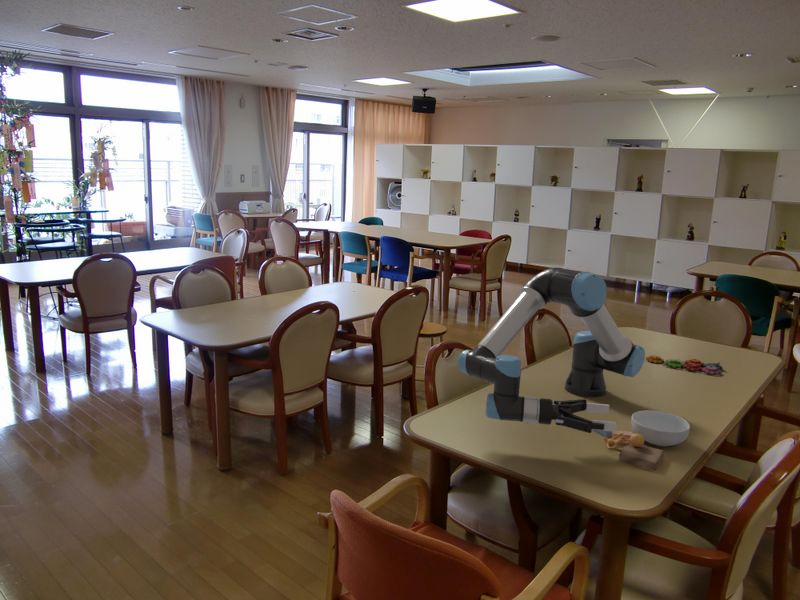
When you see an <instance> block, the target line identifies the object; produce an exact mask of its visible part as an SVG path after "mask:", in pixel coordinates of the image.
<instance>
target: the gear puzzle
mask: <svg viewBox="0 0 800 600" xmlns="http://www.w3.org/2000/svg"><path fill="white" fill-rule="evenodd" d="M645 361H648V362H649V363H654V364H662V366H664V368H666V369H671V368H672V369H675V370H677V371H678V370H679V371H683V372H693V373H695V374H702V375H707V376H708V375H712V376H713V377H718V378H719V377H721V374H722V371H723V366H722V365H721V363H720V362H719V361H716V362H713V363H711V362H707V363H705V362H702V361H701V360H699V359H696V358H689V359H688V360H682V359H679V358H676V359H675V358H668V359H664V358H662V357H661V356H659V355H656V354H652V355H649V356H645Z"/></svg>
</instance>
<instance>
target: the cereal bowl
mask: <svg viewBox="0 0 800 600" xmlns="http://www.w3.org/2000/svg"><path fill="white" fill-rule="evenodd" d="M630 422H631V428H632V431H633V432H634V434H635V433H638V434H641V435H642V436H643V438H644V442H646V443H648V444H650V445H653V446H657V447H670V446H676V445H679V444H681V443H683V442H685V440H686V439H687V438H688V436H689V433H690V430H691V425H690V423H689V422H688V421H687V420H685V419H684V418H682V417H681V416H678V415H676V414H673V413H670V412H665V411H661V410H649V409H646V410H645V409H644V410H639V411H636V412H633V413H632V415H631V419H630Z"/></svg>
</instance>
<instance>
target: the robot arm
mask: <svg viewBox="0 0 800 600" xmlns="http://www.w3.org/2000/svg"><path fill="white" fill-rule="evenodd" d="M606 290H607V283H606V282H605V280H604V279H603V278H602V277H601V276H600V275H599V274H596V273H593V272H590V271H581V270H574V269H570V268H569V269H568V268H563V267H550V268H547V269H544V270H543V271H541V272H540V271H539V272H538V273H537V274H535V275H534V276H533V277H531V278H530V279H529V280H527V282H526V283H525V284H524V285H523V286H522V287H521V288H520V290H519V295H518V297H517V298H516V299H515V300H514V301H513V303H512V304H511V305H510V306H509V307H508V308H507V310H506V311H505V312H504V313H503V315H502V316H501V317H500V318H499V319H498V320H497V322H495V324H494V325H493V326H492V328H490V330H489V331H488V332H487V333H486V335H485V336H484V337H483V338H482V339H481V341H480V342H479V343H478V344H477V345H476V346H475V347H474V349H473V350H472V349H465V350H463V351H461V352H460V354H459V355H458V358H457V362H456V363H457V367H458V370H459V371H460V372H462V373H464V374H465V375H467V376H469V377H473V378H476V379H479V380H481V381H484V382H487V383H489V384H492V385H493V392H492V393H488V394H487V395H486V405H485V415H486V417H487V418H488V419H493V420H497V421H498V420H499V421H510V422H520V423H521V422H522V423H525V424H527V425H528V424H536V423H537V422H538V424H540V425H551V424H552V421H553V420H554V421H555V425H556V426H561V427H567V428H570V429H573V430H577V431H581V432H584V433H589V434H591V433H592V432H593V431H592V430H602V431H612V432H616V430H617V422H616V421H612V420H611V421H610V420H599V419H592V420H590V419H587V418H586V417H585V418H584V417H581V416H579V415H576V413H580V412H584V411H585V412H586V413H595V414H604V415H605V414H606V415H609V412H610V404H605V403H595V402H594V403H593V402H587V399H585V398H584V399H570V400H569V399H568V400H552V399H551V398H542V397H541V398H539V399H538V397H535V396H534V397H533V396H520V388H521V387H520V386H521V385H520V384H521V376H522V369H521V368H522V366H521V365H522V360H521V359H520V358H519V357H518V356H515V355H510V354H503V353H504V351H505V350H506V349H507V348H508V346H509V345H510V344H511V343H512V341H513V340H514V339H515V338H516V337H517V336H518V334H519V333H520V332H521V331H522V330H523V328H524V327H525V326H526V324H528V322H529V321H530V320H531V319H532V317H533V316H534V315H535V314H536V313H537V312H538V310H542V309H543V308H544V307H545V306H546V305H547V304H549V303H555V304H561V305H565V306H567V308H568V309H569V311H570V312H571V313H572V315H574V316H575V317H577V318H580V319H581V320H582V321H583V324H584V325H585V326H586V328H587V329H588V330H583V331H578V332H576V333H575V335H574V338H573V342H572V344H573V345H572V346H573V347H572V357H571V358H572V359H571V369H570V371H569V373H568V376H567V377H566V380H565V381H564V383H565V384H564V389H565V390H566V391H568V392H569V393H571V394H573V395H576V396H582V397H588V398H590V397H592V398H593V397H594V398H595V397H596V398H598V397H602V396H605V395H606V392H607V385H606V384H607V383H606V381H605V376H604V370H605V371H608V372H612V373H615V374H617V375H622V376H624V377H630V378H634V377H635V376H637V375H638V374H639V373H640V371H641V370H642V367H643V365H644V362H645V360H646V351H645V348H644V347H643V346H640V345H639V344H635V343H633V341H632V339H630V337H629V336H628V335H627V334H624V333H622V332H621V331H620V329H619V327H618V326H617V324H616V322H615V320H614V319H613V317H612V316H611V314H610V313H609V310H607V307H606V305H605V302H606V300H607V295H608V292H607V291H606ZM574 413H575V414H574Z"/></svg>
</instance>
